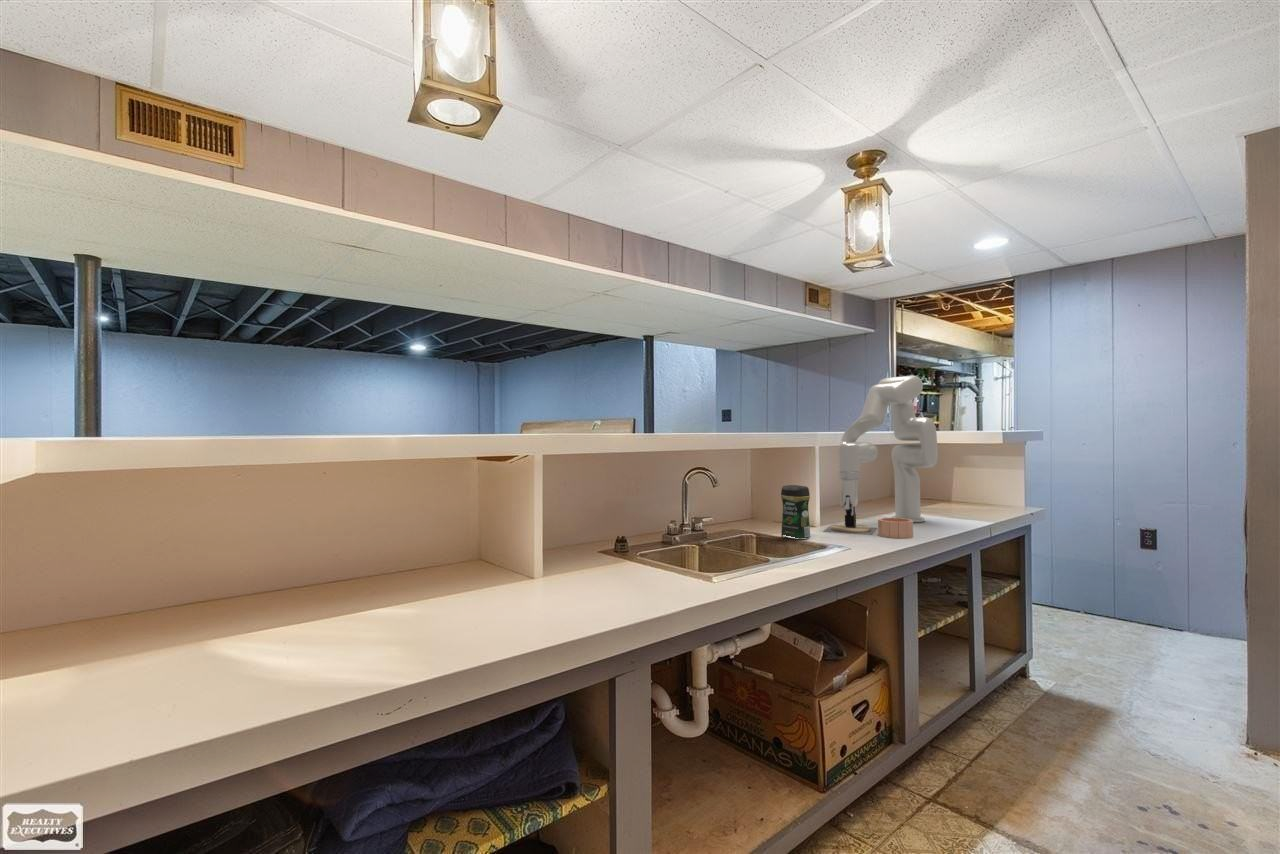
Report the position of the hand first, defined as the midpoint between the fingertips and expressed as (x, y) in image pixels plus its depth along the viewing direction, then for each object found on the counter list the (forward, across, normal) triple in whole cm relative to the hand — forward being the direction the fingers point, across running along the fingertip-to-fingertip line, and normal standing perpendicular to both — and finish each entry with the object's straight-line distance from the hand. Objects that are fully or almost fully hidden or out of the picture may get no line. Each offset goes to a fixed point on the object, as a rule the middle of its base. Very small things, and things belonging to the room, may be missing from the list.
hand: (850, 524), depth 219 cm
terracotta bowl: (+2, +6, +16) cm, 17 cm away
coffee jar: (+3, +22, -15) cm, 27 cm away
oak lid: (+2, 0, 0) cm, 2 cm away
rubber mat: (+2, 0, 0) cm, 2 cm away
